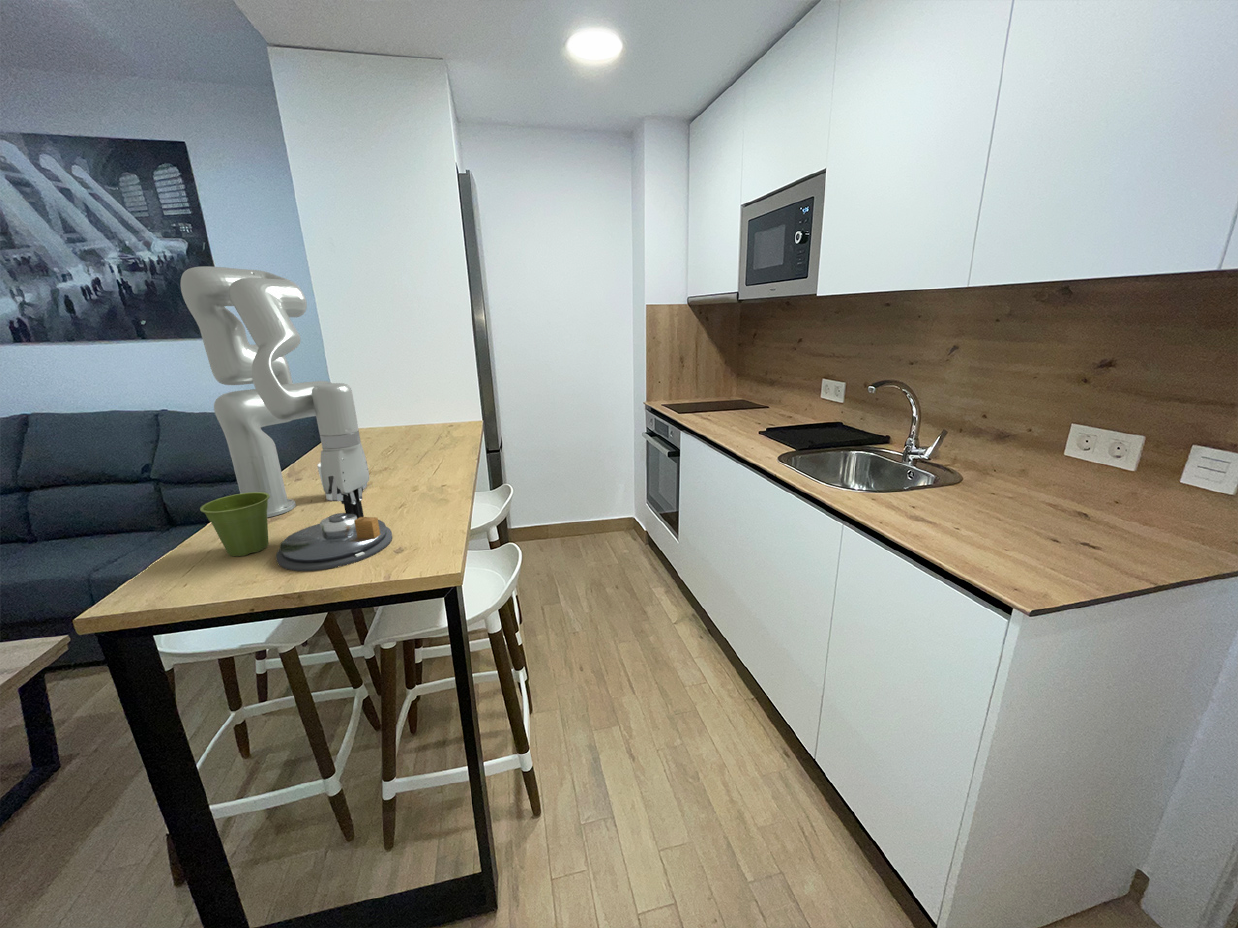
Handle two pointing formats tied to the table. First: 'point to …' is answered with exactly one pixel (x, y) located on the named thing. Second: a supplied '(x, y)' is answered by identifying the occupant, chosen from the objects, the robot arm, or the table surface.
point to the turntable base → (338, 562)
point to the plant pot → (240, 521)
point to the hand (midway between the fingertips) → (355, 518)
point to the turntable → (332, 542)
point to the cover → (338, 525)
